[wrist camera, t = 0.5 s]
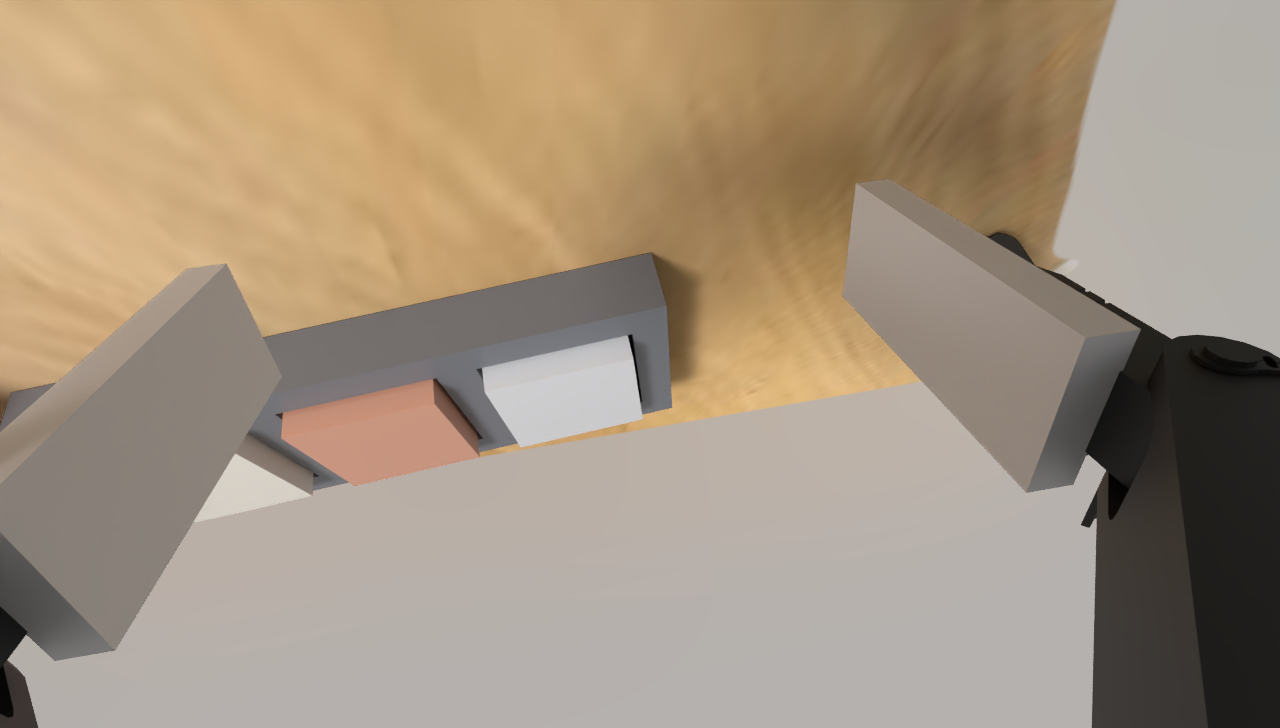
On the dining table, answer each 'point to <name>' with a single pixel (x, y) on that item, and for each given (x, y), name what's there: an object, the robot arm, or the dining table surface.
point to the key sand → (256, 481)
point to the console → (461, 348)
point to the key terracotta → (384, 432)
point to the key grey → (565, 391)
